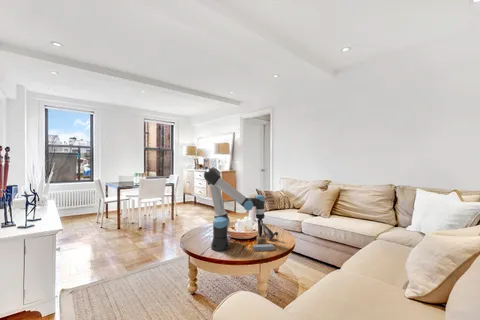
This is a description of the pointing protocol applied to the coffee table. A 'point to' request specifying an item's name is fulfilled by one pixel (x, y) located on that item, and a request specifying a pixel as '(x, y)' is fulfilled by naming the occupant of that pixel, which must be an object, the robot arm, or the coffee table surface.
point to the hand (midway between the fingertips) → (260, 240)
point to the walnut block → (261, 240)
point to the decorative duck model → (268, 232)
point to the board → (263, 247)
